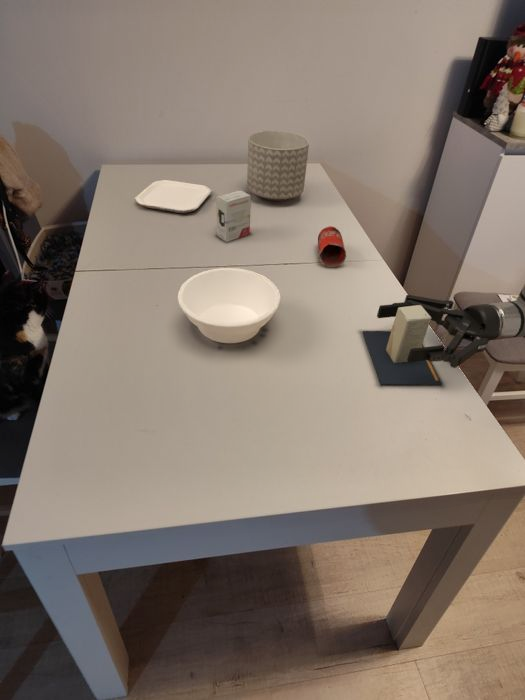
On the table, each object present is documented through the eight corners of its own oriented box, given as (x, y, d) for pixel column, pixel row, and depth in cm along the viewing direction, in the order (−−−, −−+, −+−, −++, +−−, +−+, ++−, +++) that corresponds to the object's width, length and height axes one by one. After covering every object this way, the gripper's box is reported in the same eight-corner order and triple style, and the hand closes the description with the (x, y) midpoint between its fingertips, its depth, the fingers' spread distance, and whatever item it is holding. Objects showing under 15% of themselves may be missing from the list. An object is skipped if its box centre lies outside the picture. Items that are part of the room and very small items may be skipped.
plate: (193, 218, 135) (193, 211, 133) (130, 208, 137) (129, 201, 136) (215, 193, 150) (214, 186, 148) (157, 184, 153) (157, 178, 151)
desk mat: (441, 385, 86) (442, 383, 86) (380, 385, 85) (381, 383, 85) (415, 333, 98) (416, 331, 98) (362, 332, 97) (362, 330, 97)
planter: (257, 210, 141) (259, 150, 129) (239, 187, 155) (240, 131, 143) (311, 205, 147) (319, 147, 135) (290, 183, 160) (295, 129, 148)
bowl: (226, 373, 85) (226, 340, 80) (160, 323, 96) (156, 291, 90) (297, 327, 97) (301, 296, 92) (231, 287, 108) (232, 257, 102)
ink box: (240, 228, 131) (241, 188, 124) (250, 234, 129) (252, 194, 121) (216, 235, 127) (215, 195, 119) (226, 242, 124) (226, 201, 117)
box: (407, 347, 93) (422, 304, 86) (416, 361, 90) (433, 317, 83) (384, 349, 92) (397, 306, 85) (393, 363, 89) (407, 320, 82)
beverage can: (339, 246, 126) (343, 224, 122) (344, 268, 117) (348, 245, 113) (314, 245, 126) (317, 223, 122) (317, 267, 117) (320, 244, 113)
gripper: (520, 377, 84) (418, 392, 80) (450, 302, 102) (364, 310, 98) (538, 347, 79) (431, 361, 75) (461, 274, 97) (371, 281, 93)
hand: (393, 332), depth 86 cm, fingers open, 13 cm apart
